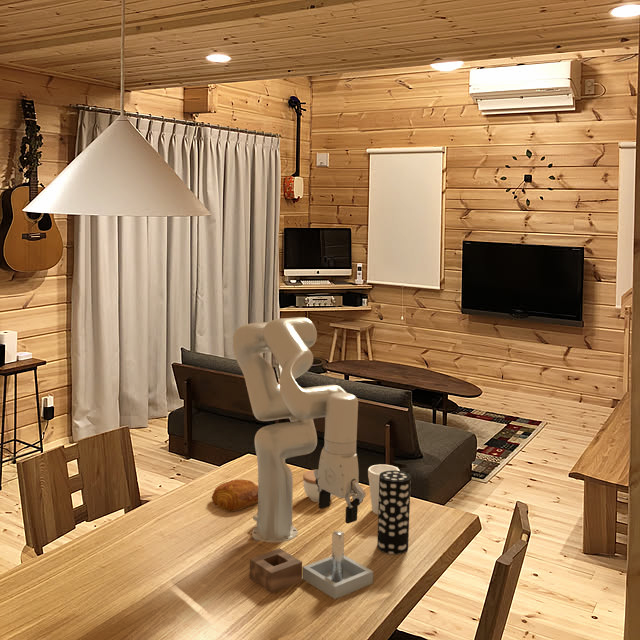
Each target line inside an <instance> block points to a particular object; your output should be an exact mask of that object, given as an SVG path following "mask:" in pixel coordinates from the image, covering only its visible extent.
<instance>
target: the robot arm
mask: <svg viewBox="0 0 640 640" xmlns="http://www.w3.org/2000/svg"><path fill="white" fill-rule="evenodd" d="M317 337H318V332H317V329H316V326H315V324H314V323H313V321H312V320H311V319H309V318H307V317H304V316H298V317H285V318H282V317H281V318H276V319H273V320H270V321H267V322H266V321H265V322H251V323H247V324H244V325H241V326H239V327H237V329H236V330H235V331H234V333H233V337H232V349H233V350H232V351H233V354H234V356H235V360H236V362H237V364H238V366H239V368H240V370H241V373H242V375H243V377H244V381H245V385H246V388H247V389H246V390H247V394H248V398H249V402H250V406H251V410H252V414H253V416H254V417H255V419H256V420H258V421H260V422H270V421H277V420H283V419H289V420H290V421H289V422H279V423H274V424H269V425H266V426H263V427H261V428H259V429H258V431H256V433H255V436H254V448H255V453H256V461H257V486H258V502H257V513H256V514H254V515H253V516H252V520H254V521H255V522H256V527H254V528H253V529H252V532H251V535H252V536H251V537H252V539H253V540H254V541H255V542H260V541H262V542H266V543H273V544H274V543H276V544H277V543H283V542H284V543H285V542H289V541H290V540H293V539H295V538H296V537H297V535H298V533H299V531H298V529H297V528H296V527H295V526H294V525H293V493H294V492H293V489H294V488H293V487H294V486H293V484H294V483H293V482H294V480H293V479H294V478H293V471H292V470H291V468H290V466H289V465H288V464H287V463H286V459H290V458H295V457H298V456H305V455H309V454H311V453H313V452H314V451H315V449H316V447H317V445H318V436H317V430H316V426H315V423H314V419H320V418H324V437H323V439H324V445H323V447H322V449H321V452H320V456H319V461H318V469H314V470H315V471H314V475H315V479H316V480H315V481H316V484H317V486H318V489H317V490H318V492H320V493H319V502H318V509H320V510H323V509H326V508H328V507H330V506H331V498H330V496H331V494H333V496H335V497H337V498H339V499H344V500H345V502H346V505H347V506H346V507H345V523H346V524H352V523H354V522H357V520H358V510H359V509H358V508H359V506H360V505H361V504H362V503H363V502H364V498H365V497H366V491H365V490H364V489H363V488H362V486H361V485H360V484H359V481H360V480H359V476H360V474H359V472H360V471H359V462H358V461H359V459H358V454H357V440H358V439H357V437H358V434H357V433H358V414H359V413H358V411H359V399H358V397H357V396H356V395H354V394H353V393H349V392H347V391H346V390H344V388H342V387H341V386H340V385H336V384H327V385H319V386H318V385H317V386H311V387H309V386H308V387H304V388H302V386H301V385H299V384H298V382H297V381H296V380H297V378H299V377H301V376H302V375H304V374H306V372H308V371H309V370H310V368H311V367H312V365H313V363H314V354H313V352H312V351H311V349H310V348H311V347H312V346H314V345H315V343H316V341H317ZM265 353H272V356H273V357H274V358H275V359H276V362H278V365H279V366H280V367H281V369H282V370H281V372H280V376H279V380H278V381H279V382H278V381H277V378H276V373H275V369H274V368H273V366H272V364H270V362H269V361H268V360H267V359H266V358H265V357H264V356H262V355H261V354H265ZM351 497H352V499H351Z"/></svg>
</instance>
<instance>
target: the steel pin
mask: <svg viewBox="0 0 640 640" xmlns="http://www.w3.org/2000/svg"><path fill="white" fill-rule="evenodd" d="M331 534H332V537H331V538H332V539H331V541H332V542H331V556H332V572H331V581H333V582H335V583H337V582H340V581H342V580H343V557H344V553H345V552H344V551H345V550H344V548H345V532H344V531H341V530H334V531H333V532H332V533H331Z"/></svg>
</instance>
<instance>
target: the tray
mask: <svg viewBox="0 0 640 640" xmlns="http://www.w3.org/2000/svg"><path fill="white" fill-rule="evenodd" d="M331 572H332V555H331V556H328V557H326V558H323V559H321V560H317V561H315V562H312V563H309V564H307V565H304V566H302V580H303V581H305V582H307V583H308V584H310V585H311V586H313V587H315V588H316V589H318V590H319V591H321V592H323V594H326V595H327V596H329V597H331V598H332V599H334V600H337V599H339V598H342V597H344V596H346V595H349V594H351V593H354V592H355V591H357V590H360V589H362V588H363V589H364V588H365V587H368V586H370V585H372V584H373V583H374V571H373V570H372V569H370V568H368V567H366V566H365V565H363V564H361V563H359V562H357V561H355V560H354V559H353V558H352V559H351V558H350V557H348V556H347V555H344V557H343V580H342V581H340V582H337V583H335V582H333V581H331Z"/></svg>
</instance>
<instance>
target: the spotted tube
mask: <svg viewBox="0 0 640 640" xmlns="http://www.w3.org/2000/svg"><path fill="white" fill-rule="evenodd" d="M411 477H412V476H411V474H410V473H407V472H404V471H401V470H400V471H384V472H382V473H380V475H379V506H378V514H377V542H376V543H377V544H376V547H377V549H378V550H379V551H380V552H382V553H385V554H389V555H400V554H404V553H406V552H407V551H408V550H409V535H410V513H411V512H410V508H411V504H410V503H411V483H412V481H411V480H412V479H411Z"/></svg>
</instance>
